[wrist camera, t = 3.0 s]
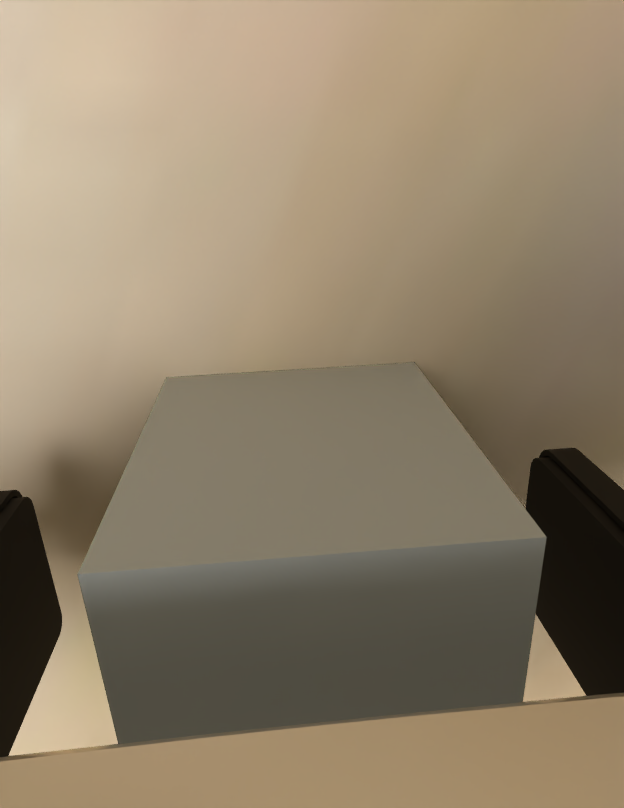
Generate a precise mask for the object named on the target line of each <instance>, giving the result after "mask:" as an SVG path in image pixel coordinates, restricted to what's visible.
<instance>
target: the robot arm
mask: <svg viewBox="0 0 624 808" xmlns="http://www.w3.org/2000/svg"><path fill="white" fill-rule="evenodd" d="M526 511H527V512H528V513H529V514H530V516H531V517H532V518H533V520H534V521H535V522H536V524H537V525H538V526H539V528H540V529H541V530H542V532H543V533H544V534H545V536H546V537H547V538H546V545H545V551H544V558H543V565H542V572H541V579H540V586H539V593H538V599H537V606H536V615H537V616H538V618H539V620H540V621H541V623H542V625H543V626H544V628H545V629H546V631H547V633H548V634H549V636H550V637H551V639H552V641H553V642H554V644H555V645H556V647H557V649H558V650H559V652H560V654H561V655H562V657H563V658H564V660H565V662H566V663H567V665H568V666H569V668H570V670H571V671H572V673H573V674H574V676H575V678H576V679H577V681H578V683H579V684H580V686H581V687H582V689H583V691H584V692H585V694H586V695H587V696H579V697H569V698H559V699H549V700H538V701H528V702H518V703H508V704H498V705H487V706H477V707H467V708H457V709H447V710H436V711H426V712H416V713H406V714H397V715H387V716H377V717H367V718H358V719H348V720H338V721H329V722H319V723H309V724H300V725H290V726H281V727H271V728H262V729H252V730H243V731H233V732H224V733H214V734H205V735H196V736H187V737H178V738H169V739H160V740H151V741H141V742H132V743H123V744H114V745H105V746H96V747H87V748H78V749H69V750H60V751H51V752H42V753H33V754H24V755H15V756H8V755H9V753H10V750H11V748H12V746H13V743H14V741H15V739H16V736H17V734H18V731H19V729H20V727H21V724H22V722H23V720H24V717H25V715H26V713H27V710H28V708H29V706H30V703H31V701H32V699H33V696H34V694H35V692H36V689H37V687H38V685H39V682H40V680H41V677H42V675H43V673H44V670H45V668H46V666H47V663H48V661H49V659H50V656H51V654H52V652H53V649H54V647H55V645H56V642H57V640H58V638H59V635H60V632H61V627H62V614H61V610H60V606H59V602H58V598H57V594H56V590H55V586H54V583H53V579H52V575H51V571H50V567H49V563H48V560H47V556H46V552H45V548H44V544H43V540H42V537H41V533H40V529H39V525H38V521H37V517H36V514H35V510H34V506H33V503H32V501H31V499H30V498H28V497H22V495H21V494H20V492H19V491H17V490H9V491H0V808H624V490H623V489H622V488H621V487H620V486H618V485H617V484H616V483H615V482H614V481H613V480H612V479H610V478H609V477H608V476H607V475H606V474H605V473H604V472H603V471H601V470H600V469H599V468H598V467H597V466H596V465H595V464H594V463H592V462H591V461H590V460H589V459H588V458H587V457H586V456H584V455H583V454H582V453H581V452H580V451H579V450H577V449H576V448H565V449H552V450H544V451H543V452H542V453H541V454H540V457H539V458H535V459H533V461H532V463H531V468H530V477H529V485H528V493H527V502H526Z"/></svg>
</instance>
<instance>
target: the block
mask: <svg viewBox="0 0 624 808" xmlns="http://www.w3.org/2000/svg"><path fill="white" fill-rule="evenodd" d="M546 538H547V537H546V536H545V534H544V533H543V532H542V530H541V529H540V528H539V526H538V525H537V524H536V522H535V521H534V520H533V518H532V517H531V516H530V514H529V513H528V512H527V511H526V509H525V508H524V507H523V505H522V504H521V503H520V501H519V500H518V499H517V497H516V496H515V495H514V493H513V492H512V491H511V489H510V488H509V487H508V485H507V484H506V483H505V481H504V480H503V479H502V477H501V476H500V475H499V473H498V472H497V471H496V469H495V468H494V467H493V465H492V464H491V463H490V462H489V460H488V459H487V458H486V456H485V455H484V454H483V452H482V451H481V450H480V448H479V447H478V446H477V444H476V443H475V442H474V440H473V439H472V438H471V436H470V435H469V434H468V432H467V431H466V430H465V428H464V427H463V426H462V424H461V423H460V422H459V420H458V419H457V418H456V416H455V415H454V414H453V413H452V411H451V410H450V409H449V407H448V406H447V405H446V403H445V402H444V401H443V399H442V398H441V397H440V395H439V394H438V393H437V391H436V390H435V389H434V387H433V386H432V385H431V383H430V382H429V381H428V379H427V378H426V377H425V375H424V374H423V373H422V371H421V370H420V369H419V368H418V366H417V365H416V364H415V362H412V363H395V364H379V365H362V366H345V367H329V368H312V369H296V370H279V371H263V372H246V373H229V374H213V375H196V376H180V377H166V379H165V381H164V384H163V386H162V388H161V390H160V393H159V395H158V397H157V399H156V401H155V404H154V406H153V408H152V410H151V412H150V415H149V417H148V419H147V421H146V424H145V426H144V428H143V430H142V432H141V435H140V437H139V439H138V441H137V443H136V446H135V448H134V450H133V452H132V455H131V457H130V459H129V461H128V463H127V466H126V468H125V470H124V472H123V474H122V477H121V479H120V481H119V483H118V486H117V488H116V490H115V492H114V494H113V497H112V499H111V501H110V503H109V505H108V508H107V510H106V512H105V514H104V517H103V519H102V521H101V523H100V525H99V528H98V530H97V532H96V534H95V536H94V539H93V541H92V543H91V545H90V548H89V550H88V552H87V554H86V556H85V559H84V561H83V563H82V565H81V567H80V570H79V572H78V574H77V575H78V579H79V583H80V587H81V591H82V595H83V599H84V604H85V608H86V612H87V616H88V620H89V624H90V628H91V633H92V637H93V641H94V645H95V649H96V653H97V657H98V661H99V666H100V670H101V674H102V678H103V682H104V686H105V690H106V695H107V699H108V703H109V707H110V711H111V715H112V719H113V724H114V728H115V732H116V736H117V740H118V744H123V743H132V742H141V741H151V740H160V739H169V738H178V737H187V736H196V735H205V734H214V733H224V732H233V731H243V730H252V729H262V728H271V727H281V726H290V725H300V724H309V723H319V722H329V721H338V720H348V719H358V718H367V717H377V716H387V715H397V714H406V713H416V712H426V711H436V710H447V709H457V708H467V707H477V706H487V705H498V704H508V703H518V702H523V695H524V689H525V682H526V675H527V668H528V661H529V654H530V647H531V641H532V634H533V627H534V620H535V613H536V606H537V599H538V593H539V586H540V579H541V572H542V565H543V558H544V551H545V545H546Z"/></svg>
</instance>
